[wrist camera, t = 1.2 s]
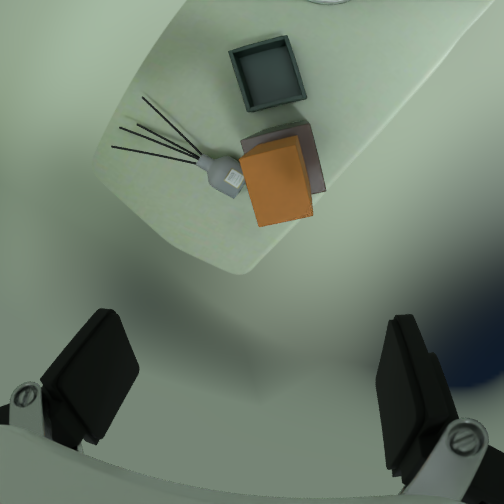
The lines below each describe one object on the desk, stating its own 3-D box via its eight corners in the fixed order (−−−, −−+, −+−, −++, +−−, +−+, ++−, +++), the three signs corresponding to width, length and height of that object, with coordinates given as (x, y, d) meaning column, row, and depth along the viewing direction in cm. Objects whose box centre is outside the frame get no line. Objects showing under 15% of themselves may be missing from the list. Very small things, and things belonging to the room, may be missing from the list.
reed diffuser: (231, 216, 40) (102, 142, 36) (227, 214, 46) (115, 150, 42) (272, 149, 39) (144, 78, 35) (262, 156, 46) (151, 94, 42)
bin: (288, 42, 34) (287, 34, 30) (306, 99, 38) (307, 97, 34) (235, 56, 36) (228, 51, 32) (252, 112, 40) (247, 112, 36)
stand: (306, 119, 39) (309, 123, 24) (317, 161, 41) (326, 191, 26) (263, 129, 40) (240, 140, 25) (275, 170, 43) (259, 206, 28)
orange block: (297, 135, 24) (295, 144, 17) (310, 186, 26) (313, 216, 19) (256, 145, 25) (238, 158, 18) (270, 194, 27) (258, 227, 20)
